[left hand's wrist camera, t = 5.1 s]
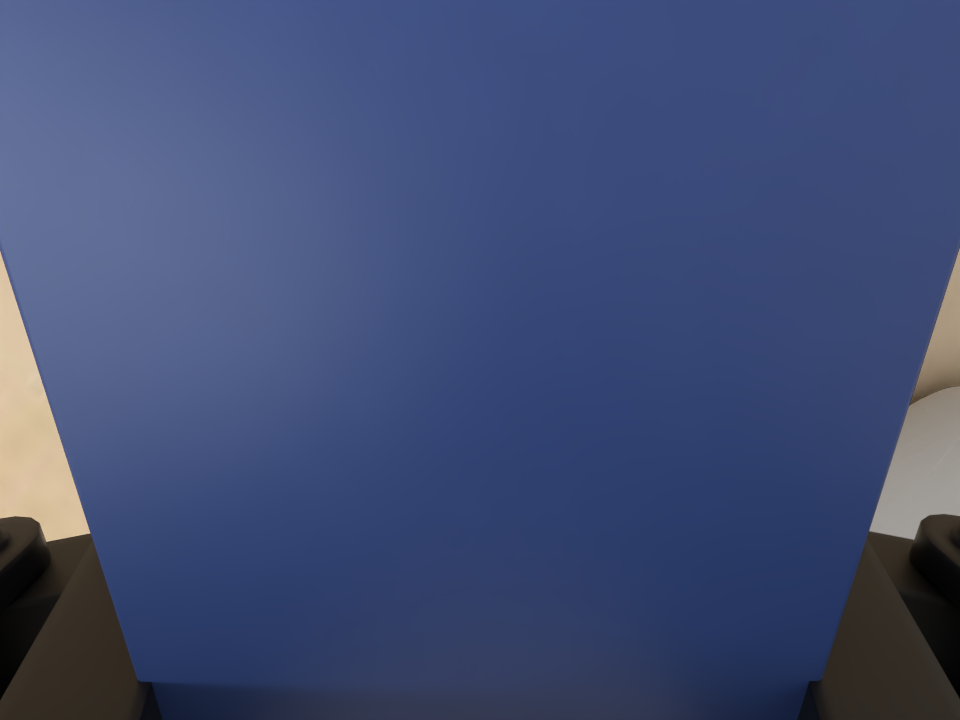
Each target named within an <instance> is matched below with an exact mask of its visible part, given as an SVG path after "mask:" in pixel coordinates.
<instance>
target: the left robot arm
mask: <svg viewBox="0 0 960 720" xmlns="http://www.w3.org/2000/svg"><path fill="white" fill-rule="evenodd" d="M0 720H163V719H162V716H161V713H160V710H159V706H158V703H157V700H156V697H155V693H154V690H153V687H152V684H151V682H141V681H139V680H137V676H136V673H135V670H134V667H133V664H132V661H131V658H130V655H129V651H128V648H127V645H126V642H125V639H124V636H123V633H122V630H121V626H120V623H119V620H118V617H117V614H116V611H115V608H114V605H113V601H112V598H111V595H110V592H109V589H108V586H107V583H106V580H105V576H104V573H103V570H102V567H101V564H100V561H99V558H98V555H97V551H96V548H95V545H94V542H93V539H92V536H91V534H86V535H80V536H75V537H70V538H65V539H60V540H54V541H49V542H46V540H45V537H44V534H43V532H42V529H41V526H40V523H38V522H37V521H35V520H34V519H32V518H29V517H16V516H15V517H8V518H1V519H0ZM797 720H960V516H956V515H949V514H937V515H929V516H927V517H926V518H924V519H923V520H921V522H920V525H919V527H918V530H917V533H916V536H915V539H914V540H913V539H908V538H903V537H898V536H892V535H887V534H882V533H877V532H871V531H869V533H868V536H867V539H866V543H865V546H864V549H863V552H862V555H861V558H860V561H859V564H858V568H857V571H856V574H855V577H854V580H853V583H852V586H851V589H850V593H849V596H848V599H847V602H846V605H845V608H844V611H843V615H842V618H841V621H840V624H839V627H838V630H837V633H836V636H835V640H834V643H833V646H832V649H831V652H830V655H829V658H828V661H827V665H826V668H825V671H824V674H823V677H822V679H821V680H819V681H809V684H808V687H807V690H806V693H805V697H804V700H803V703H802V706H801V709H800V713H799V716H798V719H797Z"/></svg>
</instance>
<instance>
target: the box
mask: <svg viewBox="0 0 960 720" xmlns="http://www.w3.org/2000/svg"><path fill="white" fill-rule="evenodd" d="M959 248H960V0H0V251H1V254H2V258H3V261H4V264H5V267H6V270H7V273H8V276H9V279H10V283H11V286H12V289H13V292H14V295H15V298H16V301H17V304H18V308H19V311H20V314H21V317H22V320H23V323H24V326H25V329H26V333H27V336H28V339H29V342H30V345H31V348H32V351H33V354H34V358H35V361H36V364H37V367H38V370H39V373H40V376H41V380H42V383H43V386H44V389H45V392H46V395H47V398H48V401H49V405H50V408H51V411H52V414H53V417H54V420H55V423H56V426H57V430H58V433H59V436H60V439H61V442H62V445H63V448H64V451H65V455H66V458H67V461H68V464H69V467H70V470H71V473H72V476H73V480H74V483H75V486H76V489H77V492H78V495H79V498H80V501H81V505H82V508H83V511H84V514H85V517H86V520H87V523H88V526H89V530H90V533H91V536H92V539H93V542H94V545H95V548H96V551H97V555H98V558H99V561H100V564H101V567H102V570H103V573H104V576H105V580H106V583H107V586H108V589H109V592H110V595H111V598H112V601H113V605H114V608H115V611H116V614H117V617H118V620H119V623H120V626H121V630H122V633H123V636H124V639H125V642H126V645H127V648H128V651H129V655H130V658H131V661H132V664H133V667H134V670H135V673H136V676H137V680H139V681H141V682H151V684H152V687H153V690H154V693H155V697H156V700H157V703H158V706H159V710H160V713H161V716H162V719H163V720H797V719H798V716H799V713H800V709H801V706H802V703H803V700H804V697H805V693H806V690H807V687H808V684H809V681H819V680H821V679H822V677H823V674H824V671H825V668H826V665H827V661H828V658H829V655H830V652H831V649H832V646H833V643H834V640H835V636H836V633H837V630H838V627H839V624H840V621H841V618H842V615H843V611H844V608H845V605H846V602H847V599H848V596H849V593H850V589H851V586H852V583H853V580H854V577H855V574H856V571H857V568H858V564H859V561H860V558H861V555H862V552H863V549H864V546H865V543H866V539H867V536H868V533H869V530H870V527H871V524H872V521H873V517H874V514H875V511H876V508H877V505H878V502H879V499H880V496H881V492H882V489H883V486H884V483H885V480H886V477H887V474H888V471H889V467H890V464H891V461H892V458H893V455H894V452H895V449H896V445H897V442H898V439H899V436H900V433H901V430H902V427H903V424H904V420H905V417H906V414H907V411H908V408H909V405H910V402H911V399H912V395H913V392H914V389H915V386H916V383H917V380H918V377H919V373H920V370H921V367H922V364H923V361H924V358H925V355H926V352H927V348H928V345H929V342H930V339H931V336H932V333H933V330H934V327H935V323H936V320H937V317H938V314H939V311H940V308H941V305H942V301H943V298H944V295H945V292H946V289H947V286H948V283H949V280H950V276H951V273H952V270H953V267H954V264H955V261H956V258H957V255H958V251H959Z"/></svg>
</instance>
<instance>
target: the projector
mask: <svg viewBox="0 0 960 720" xmlns="http://www.w3.org/2000/svg"><path fill="white" fill-rule="evenodd" d="M937 514H949V515H956V516H960V386H956V387H950V388H946V389H943V390H940V391H937V392H935V393H933V394H930V395H928V396H926V397H924V398H922V399H920V400H918V401H917V402H915V403H913V404H911V405H910V406H909V408H908V411H907V414H906V417H905V420H904V424H903V427H902V430H901V433H900V436H899V439H898V442H897V445H896V449H895V452H894V455H893V458H892V461H891V464H890V467H889V471H888V474H887V477H886V480H885V483H884V486H883V489H882V492H881V496H880V499H879V502H878V505H877V508H876V511H875V514H874V517H873V521H872V524H871V527H870V530H869V531H871V532H877V533H882V534H887V535H892V536H898V537H903V538H908V539H913V540H914V539H915V536H916V533H917V530H918V527H919V525H920V522H921V520H923V519H924V518H926V517H927V516H929V515H937Z"/></svg>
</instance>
